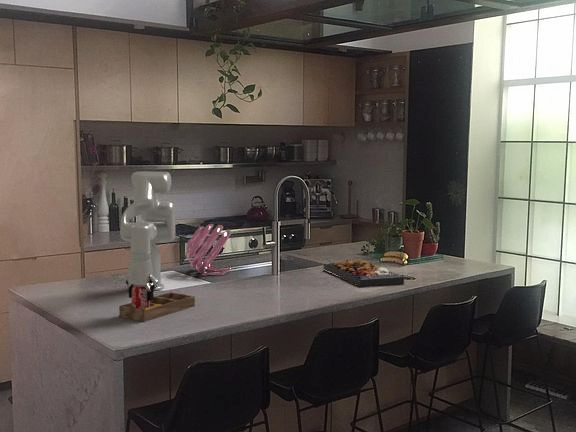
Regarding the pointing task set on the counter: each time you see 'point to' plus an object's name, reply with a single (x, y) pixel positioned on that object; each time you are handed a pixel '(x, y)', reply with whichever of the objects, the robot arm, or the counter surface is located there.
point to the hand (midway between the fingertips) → (141, 298)
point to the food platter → (364, 273)
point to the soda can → (139, 297)
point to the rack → (158, 306)
